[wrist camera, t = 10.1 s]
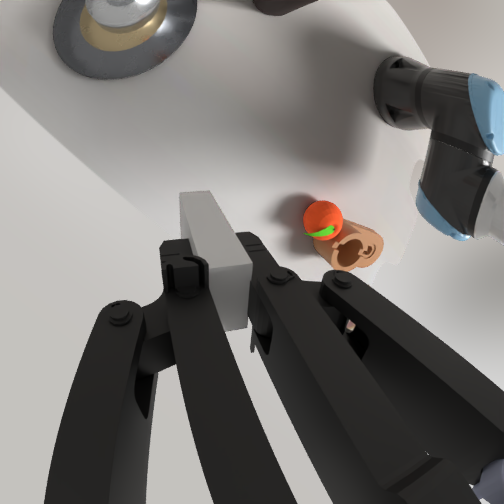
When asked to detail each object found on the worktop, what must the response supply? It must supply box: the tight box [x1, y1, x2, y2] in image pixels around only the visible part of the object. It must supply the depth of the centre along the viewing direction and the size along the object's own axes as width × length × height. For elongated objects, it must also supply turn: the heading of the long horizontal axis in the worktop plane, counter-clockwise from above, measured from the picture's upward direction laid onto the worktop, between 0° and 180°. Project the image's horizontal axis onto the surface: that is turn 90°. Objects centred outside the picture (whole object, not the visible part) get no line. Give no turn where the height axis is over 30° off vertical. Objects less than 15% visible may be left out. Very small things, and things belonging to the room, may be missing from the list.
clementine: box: [303, 201, 343, 241], centre depth 49 cm, size 8×7×7 cm
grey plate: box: [53, 0, 197, 80], centre depth 25 cm, size 20×20×1 cm
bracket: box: [313, 219, 384, 272], centre depth 56 cm, size 18×8×7 cm, turn 67°
